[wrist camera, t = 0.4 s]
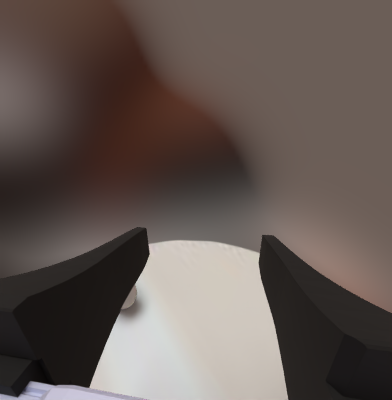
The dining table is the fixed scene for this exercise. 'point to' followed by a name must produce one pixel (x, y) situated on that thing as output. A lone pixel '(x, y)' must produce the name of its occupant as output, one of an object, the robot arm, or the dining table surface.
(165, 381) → the dining table surface
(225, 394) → the dining table surface
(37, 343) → the robot arm
